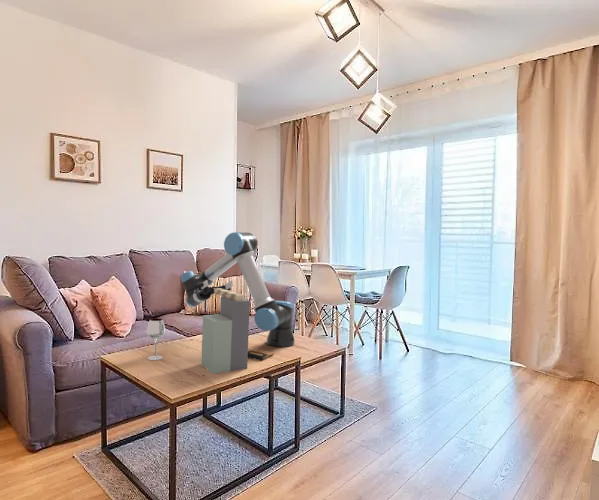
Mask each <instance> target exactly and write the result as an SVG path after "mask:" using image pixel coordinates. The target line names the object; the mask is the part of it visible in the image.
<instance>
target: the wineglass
mask: <svg viewBox="0 0 599 500" xmlns="http://www.w3.org/2000/svg"><path fill="white" fill-rule="evenodd" d="M146 335H147V337H148V339H150V340H152V342H153V343H154V352H153V353H154V355H150V356H149V357H147V360H149V361H159V360H162V359H163V356H162V355H157V345H158V342H159V340H161V339H162V338H163V337H164V336H165V335H166V327H165V323H164V319H163V318H160V317H159V318H157V317H155V318H154V317H153V318H150V319H149V321H148V324H147V327H146Z"/></svg>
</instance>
